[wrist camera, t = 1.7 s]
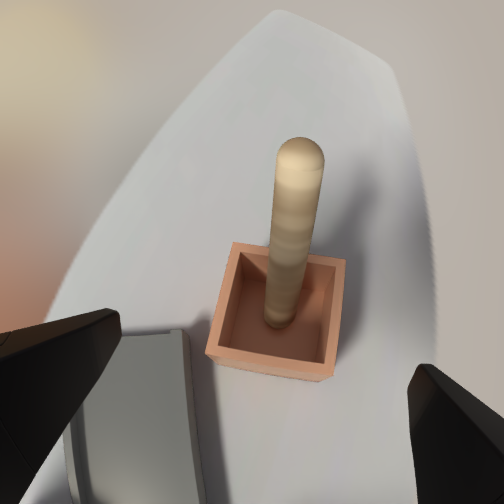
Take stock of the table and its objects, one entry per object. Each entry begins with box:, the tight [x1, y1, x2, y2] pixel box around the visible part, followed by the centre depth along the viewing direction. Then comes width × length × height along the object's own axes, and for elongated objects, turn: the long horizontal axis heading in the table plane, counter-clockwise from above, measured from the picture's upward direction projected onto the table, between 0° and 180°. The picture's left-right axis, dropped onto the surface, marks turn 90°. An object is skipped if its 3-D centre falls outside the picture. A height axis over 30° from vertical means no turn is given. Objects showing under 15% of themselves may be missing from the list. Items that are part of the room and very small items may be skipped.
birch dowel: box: [263, 137, 325, 329], centre depth 17 cm, size 6×2×12 cm, turn 169°
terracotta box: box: [205, 242, 346, 382], centre depth 20 cm, size 7×7×5 cm
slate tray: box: [63, 329, 207, 504], centre depth 17 cm, size 18×10×2 cm, turn 7°
